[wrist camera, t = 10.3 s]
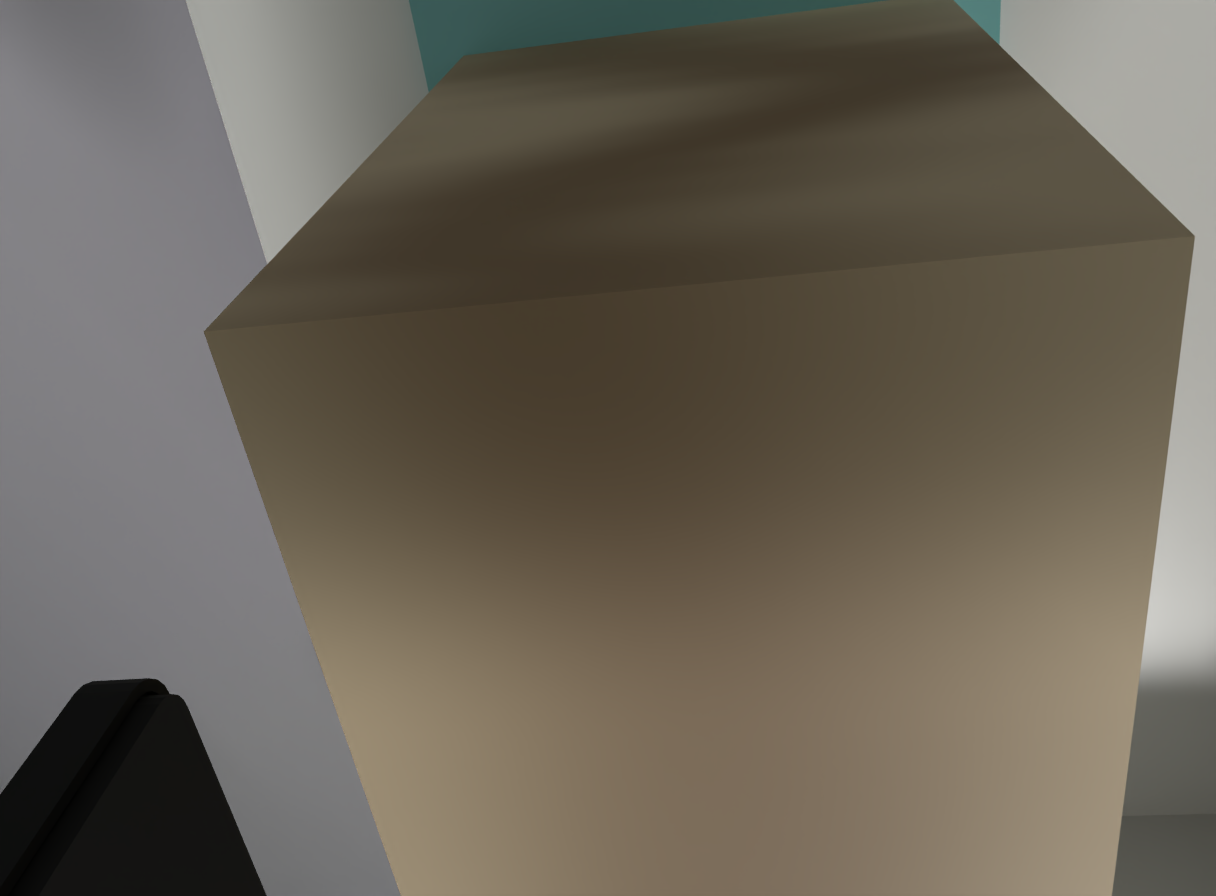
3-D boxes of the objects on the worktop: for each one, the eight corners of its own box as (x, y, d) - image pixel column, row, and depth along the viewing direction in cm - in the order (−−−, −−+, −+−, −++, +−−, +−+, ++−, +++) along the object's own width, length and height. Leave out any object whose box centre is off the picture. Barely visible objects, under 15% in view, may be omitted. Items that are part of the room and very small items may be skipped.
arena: (1318, 822, 18) (1458, 1069, 14) (468, 844, 20) (414, 1065, 17) (1598, -292, 10) (2021, -326, 7) (195, -74, 13) (-3, -17, 9)
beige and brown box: (946, -8, 11) (1219, 260, 5) (939, 672, 16) (1079, 1261, 10) (462, 55, 12) (181, 356, 6) (588, 688, 16) (504, 1242, 10)
